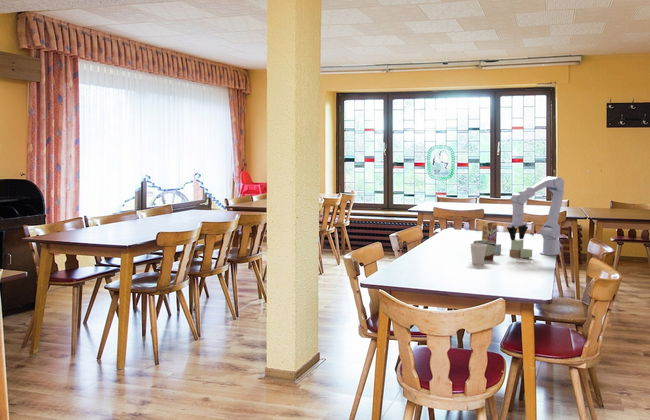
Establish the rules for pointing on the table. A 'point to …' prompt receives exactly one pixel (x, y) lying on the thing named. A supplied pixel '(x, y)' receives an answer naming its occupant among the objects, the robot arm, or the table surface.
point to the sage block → (516, 244)
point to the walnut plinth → (515, 253)
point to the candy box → (489, 231)
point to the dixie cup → (478, 253)
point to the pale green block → (526, 253)
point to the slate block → (497, 249)
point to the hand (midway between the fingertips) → (517, 239)
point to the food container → (488, 249)
